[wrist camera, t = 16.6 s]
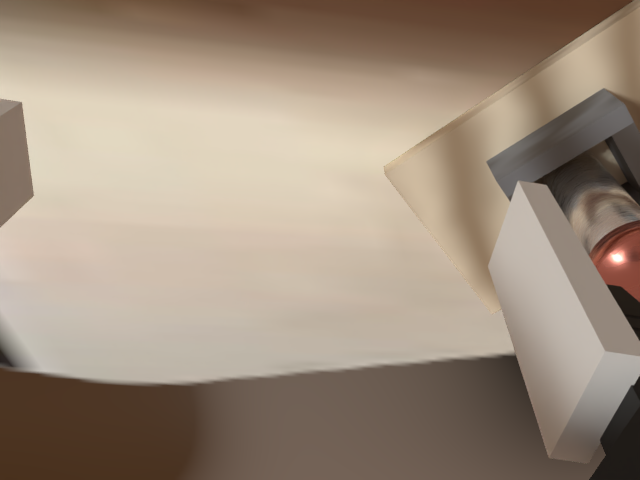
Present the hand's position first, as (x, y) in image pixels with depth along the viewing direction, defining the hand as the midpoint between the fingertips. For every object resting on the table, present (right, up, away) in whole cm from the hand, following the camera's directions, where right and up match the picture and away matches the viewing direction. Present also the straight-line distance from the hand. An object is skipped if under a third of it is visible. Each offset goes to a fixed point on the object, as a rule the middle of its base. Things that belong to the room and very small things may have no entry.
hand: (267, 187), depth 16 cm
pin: (+20, +3, +27) cm, 34 cm away
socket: (+20, +4, +29) cm, 35 cm away
